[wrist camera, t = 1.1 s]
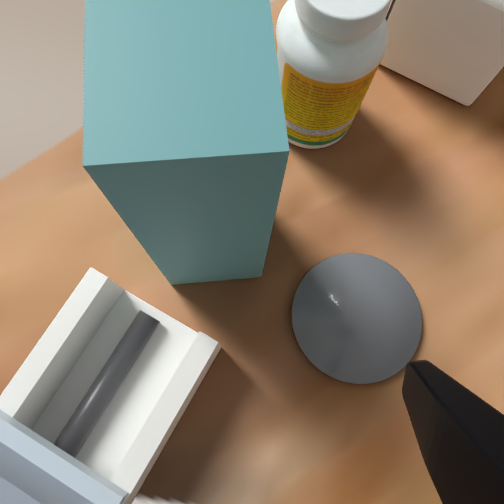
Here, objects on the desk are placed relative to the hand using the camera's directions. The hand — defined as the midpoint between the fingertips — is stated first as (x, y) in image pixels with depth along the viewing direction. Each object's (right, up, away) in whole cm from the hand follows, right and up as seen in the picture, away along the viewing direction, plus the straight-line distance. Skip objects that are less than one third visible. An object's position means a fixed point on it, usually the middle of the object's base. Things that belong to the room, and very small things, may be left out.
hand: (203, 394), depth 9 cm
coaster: (+7, 0, +14) cm, 16 cm away
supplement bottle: (+5, +12, +18) cm, 22 cm away
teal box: (-1, +4, +15) cm, 16 cm away
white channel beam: (-7, -6, +12) cm, 15 cm away
